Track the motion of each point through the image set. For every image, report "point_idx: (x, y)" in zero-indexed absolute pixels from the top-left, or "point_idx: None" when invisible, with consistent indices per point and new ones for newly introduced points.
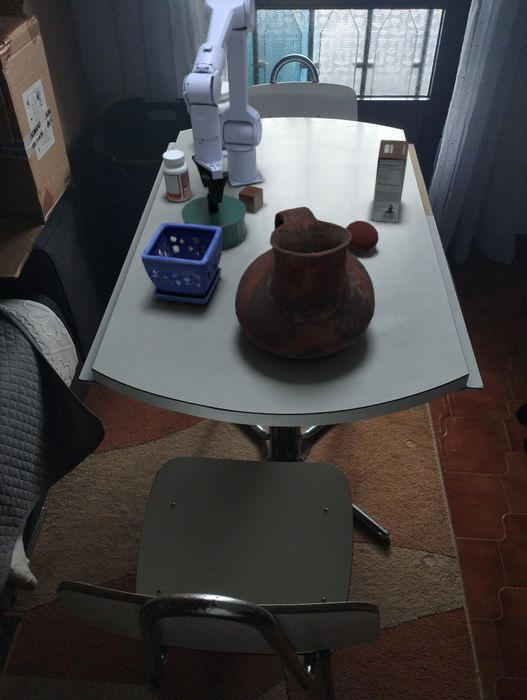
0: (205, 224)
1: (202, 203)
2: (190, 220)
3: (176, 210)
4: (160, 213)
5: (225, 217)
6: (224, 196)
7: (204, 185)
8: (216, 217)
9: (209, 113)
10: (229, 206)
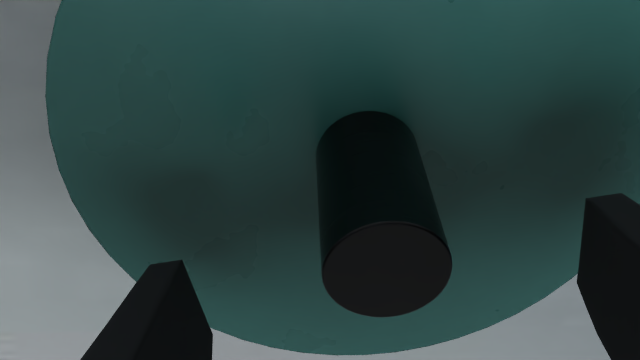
0: (571, 224)
1: (218, 233)
2: (466, 311)
3: (31, 263)
4: (72, 330)
5: (530, 62)
6: (86, 37)
7: (208, 357)
8: (493, 139)
9: None
10: (314, 1)
